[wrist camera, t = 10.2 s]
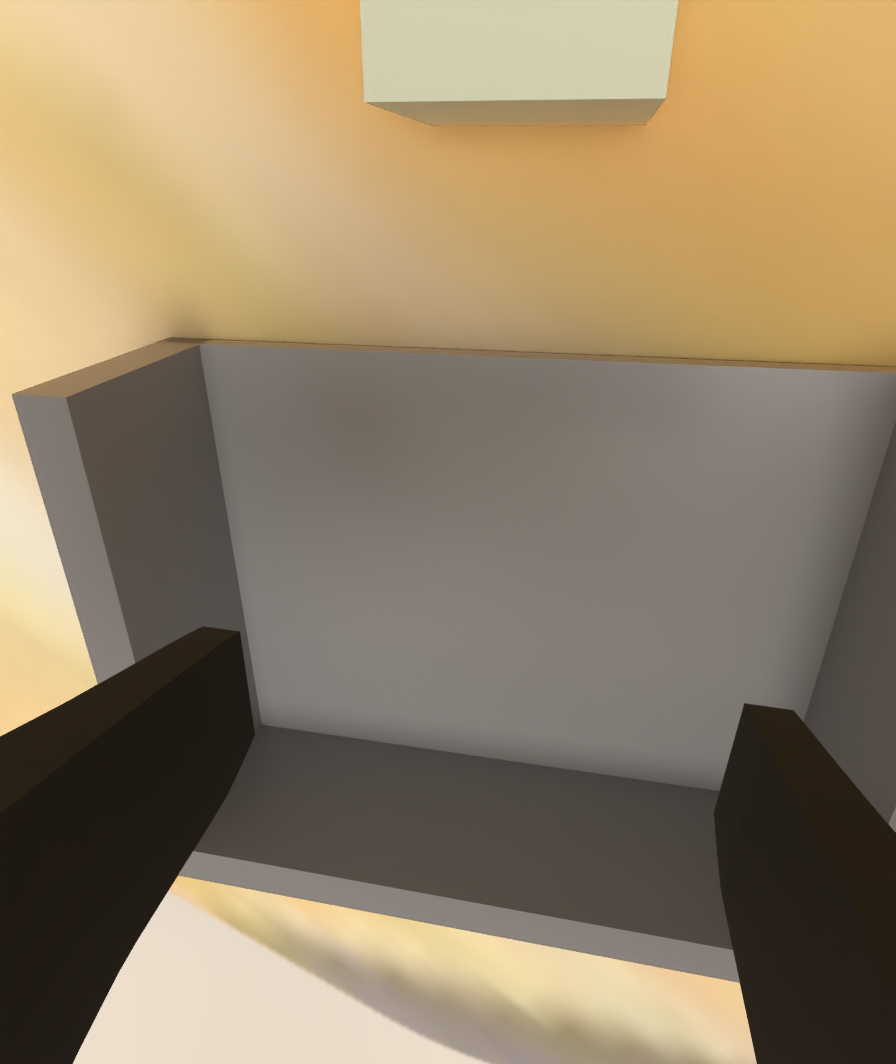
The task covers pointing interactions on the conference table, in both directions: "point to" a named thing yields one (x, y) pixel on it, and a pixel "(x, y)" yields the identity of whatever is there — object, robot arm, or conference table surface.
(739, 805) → the robot arm
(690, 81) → the conference table surface
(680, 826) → the open box
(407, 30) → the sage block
